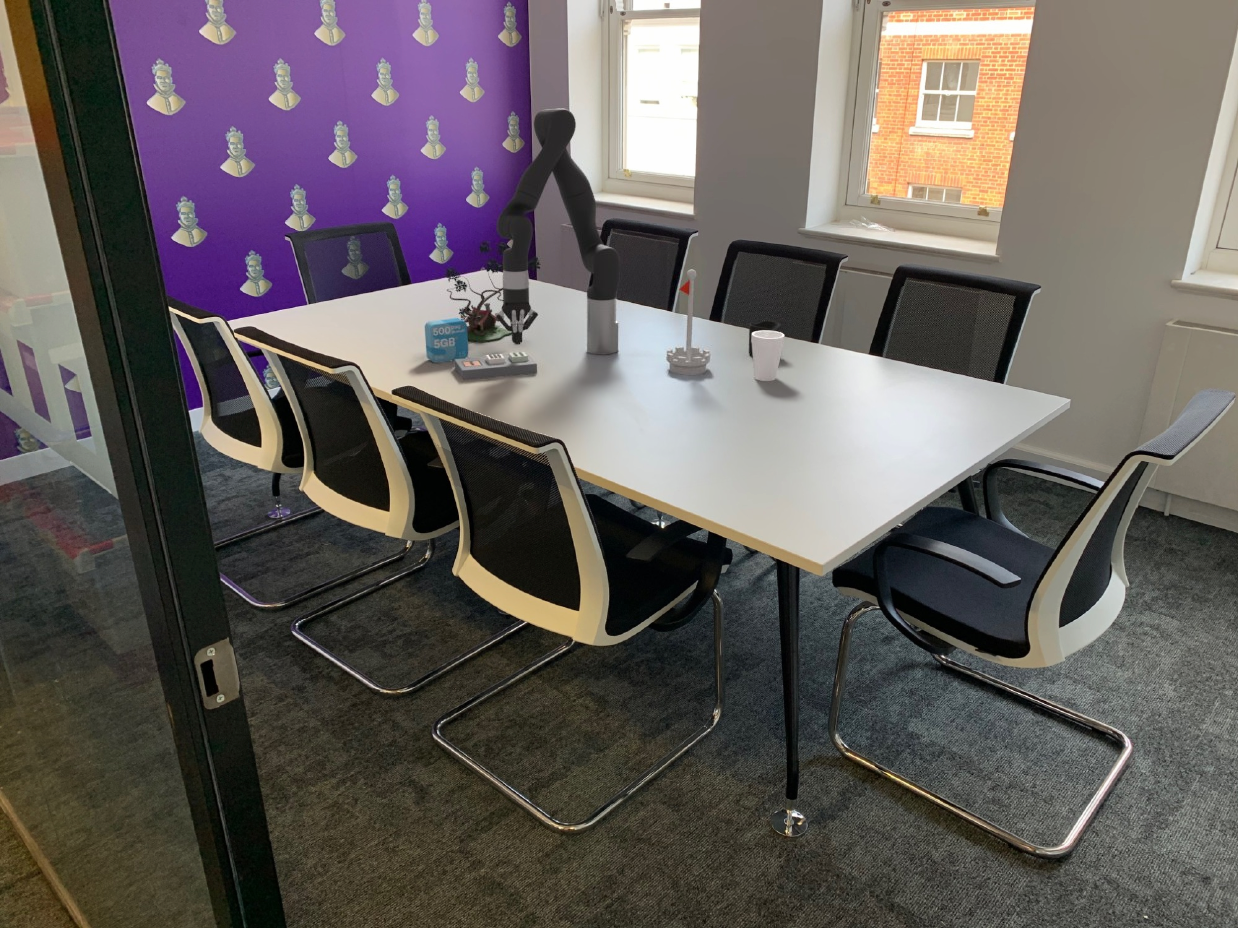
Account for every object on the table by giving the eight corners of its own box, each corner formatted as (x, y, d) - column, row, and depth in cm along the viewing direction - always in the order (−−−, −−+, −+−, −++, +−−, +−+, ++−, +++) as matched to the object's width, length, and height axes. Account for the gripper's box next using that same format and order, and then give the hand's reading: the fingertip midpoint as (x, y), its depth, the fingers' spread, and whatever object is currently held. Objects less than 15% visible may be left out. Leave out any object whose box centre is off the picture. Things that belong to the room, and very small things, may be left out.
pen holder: (776, 360, 294) (779, 328, 290) (746, 358, 296) (748, 326, 292) (778, 352, 303) (780, 321, 299) (748, 350, 304) (750, 319, 301)
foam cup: (760, 384, 271) (763, 340, 266) (742, 375, 279) (745, 332, 274) (787, 380, 275) (791, 336, 270) (768, 371, 283) (772, 329, 278)
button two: (524, 361, 284) (523, 351, 283) (528, 365, 280) (527, 355, 279) (509, 362, 283) (508, 352, 282) (513, 367, 279) (512, 356, 278)
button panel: (526, 362, 289) (526, 353, 288) (537, 373, 278) (536, 363, 277) (454, 369, 282) (454, 359, 280) (463, 380, 271) (462, 370, 270)
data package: (432, 364, 286) (429, 325, 282) (426, 360, 290) (424, 322, 285) (468, 358, 292) (466, 320, 288) (462, 355, 296) (460, 317, 291)
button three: (501, 363, 282) (500, 353, 281) (505, 367, 278) (504, 357, 277) (486, 365, 281) (485, 354, 279) (489, 369, 277) (489, 358, 275)
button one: (478, 370, 280) (477, 360, 279) (481, 374, 276) (481, 364, 275) (463, 372, 279) (462, 361, 278) (466, 376, 275) (465, 365, 274)
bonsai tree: (484, 353, 298) (479, 251, 286) (432, 339, 312) (426, 242, 300) (559, 332, 323) (557, 238, 311) (508, 320, 337) (505, 230, 325)
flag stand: (686, 360, 292) (689, 263, 281) (718, 369, 284) (723, 269, 272) (657, 369, 284) (659, 269, 273) (689, 378, 275) (693, 275, 264)
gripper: (534, 282, 278) (535, 339, 285) (490, 284, 274) (492, 342, 280) (541, 287, 272) (542, 345, 278) (496, 289, 267) (498, 348, 274)
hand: (517, 344), depth 279 cm, fingers closed
